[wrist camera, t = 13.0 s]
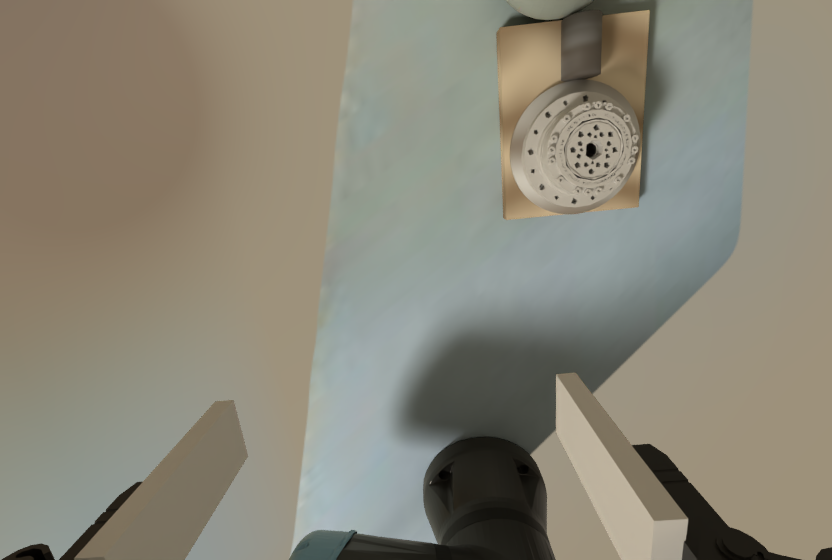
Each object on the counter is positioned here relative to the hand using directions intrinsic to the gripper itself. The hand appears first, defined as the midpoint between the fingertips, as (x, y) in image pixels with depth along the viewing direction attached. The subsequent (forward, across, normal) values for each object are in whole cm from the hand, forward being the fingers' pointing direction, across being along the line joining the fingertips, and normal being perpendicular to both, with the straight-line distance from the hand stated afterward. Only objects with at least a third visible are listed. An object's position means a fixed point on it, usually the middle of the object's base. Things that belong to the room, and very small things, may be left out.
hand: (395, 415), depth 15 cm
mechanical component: (+25, -16, -10) cm, 31 cm away
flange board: (+27, -16, -12) cm, 34 cm away
